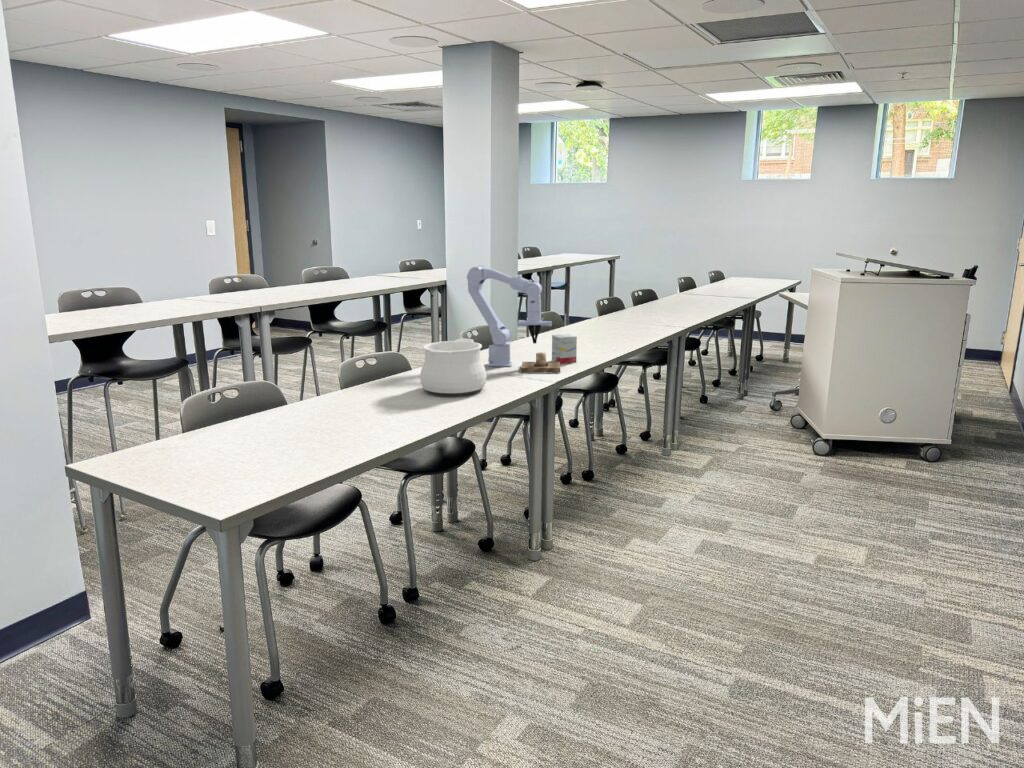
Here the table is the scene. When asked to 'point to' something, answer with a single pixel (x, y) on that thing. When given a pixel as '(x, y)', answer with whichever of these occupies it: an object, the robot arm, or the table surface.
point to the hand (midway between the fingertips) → (534, 343)
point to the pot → (453, 368)
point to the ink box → (564, 348)
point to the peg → (540, 359)
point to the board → (540, 367)
